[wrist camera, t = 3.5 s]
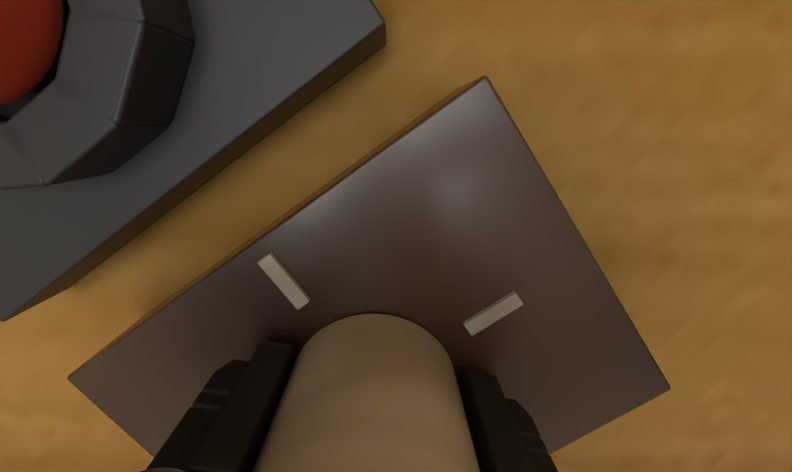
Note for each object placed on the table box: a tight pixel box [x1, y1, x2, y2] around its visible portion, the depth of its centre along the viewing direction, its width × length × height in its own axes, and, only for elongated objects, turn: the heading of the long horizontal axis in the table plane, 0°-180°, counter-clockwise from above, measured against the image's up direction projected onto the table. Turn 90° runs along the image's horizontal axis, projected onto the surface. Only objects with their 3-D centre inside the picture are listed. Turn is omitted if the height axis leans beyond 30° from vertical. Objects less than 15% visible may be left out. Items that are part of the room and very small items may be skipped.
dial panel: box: [67, 76, 671, 458], centre depth 11 cm, size 12×9×3 cm
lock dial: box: [252, 314, 480, 472], centre depth 7 cm, size 4×4×5 cm
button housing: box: [0, 0, 386, 321], centre depth 8 cm, size 12×9×4 cm
